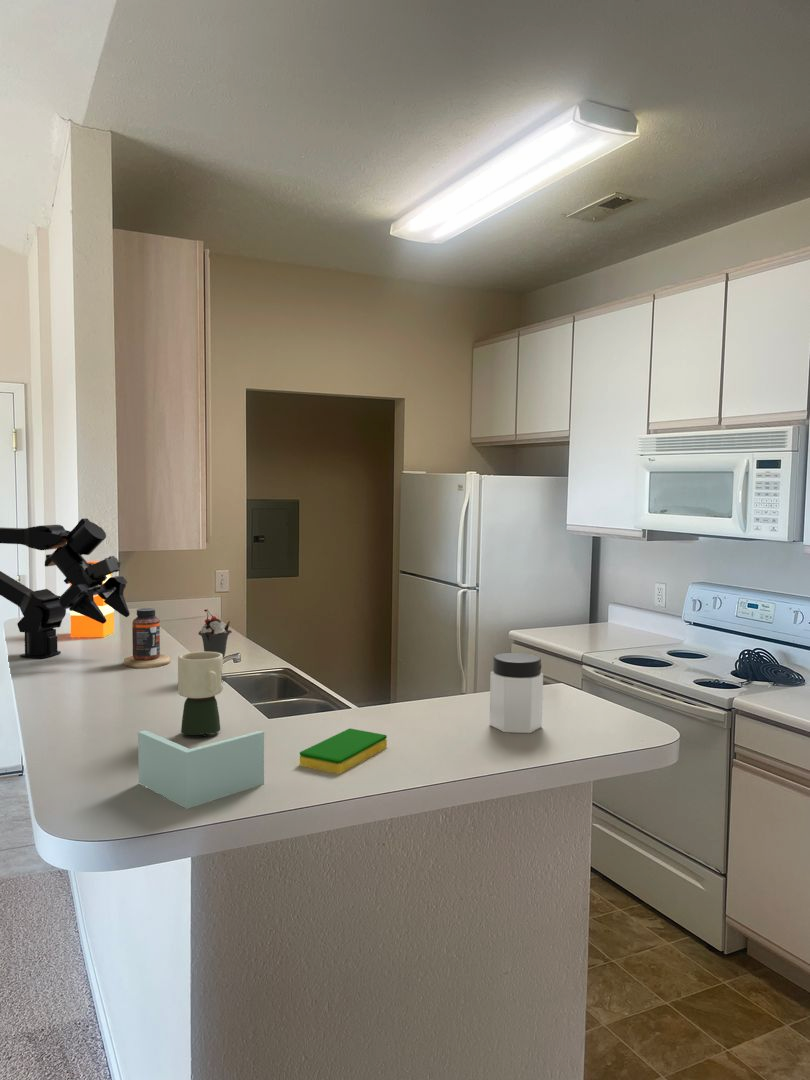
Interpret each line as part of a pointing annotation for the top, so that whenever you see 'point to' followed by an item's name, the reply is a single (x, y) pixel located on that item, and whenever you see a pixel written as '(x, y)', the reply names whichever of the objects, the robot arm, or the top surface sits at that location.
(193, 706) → the character mug
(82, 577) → the robot arm
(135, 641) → the supplement bottle
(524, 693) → the jar
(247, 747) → the l-shaped corner panel
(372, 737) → the dish sponge
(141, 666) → the plate
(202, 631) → the sundae
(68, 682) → the top surface
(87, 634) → the orange juice
